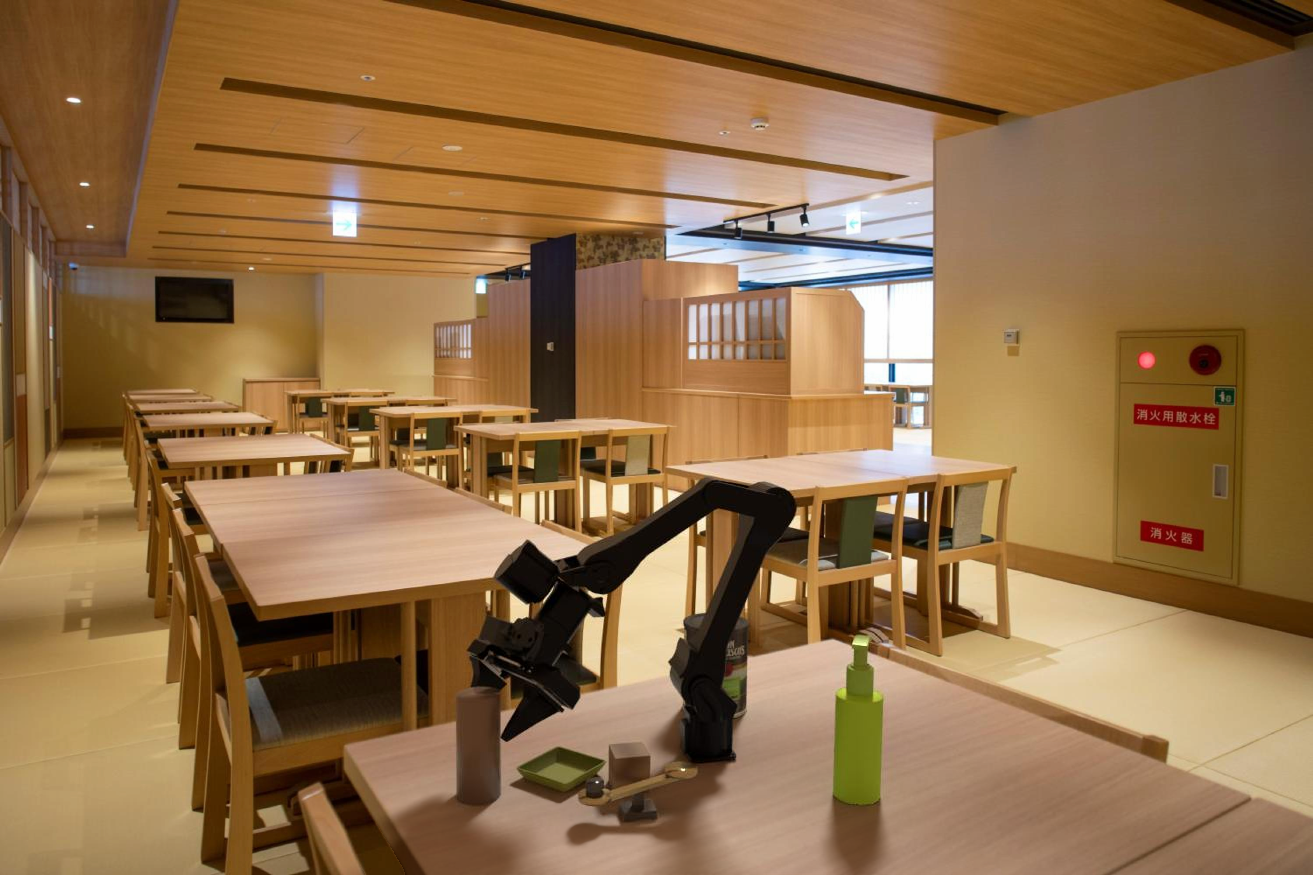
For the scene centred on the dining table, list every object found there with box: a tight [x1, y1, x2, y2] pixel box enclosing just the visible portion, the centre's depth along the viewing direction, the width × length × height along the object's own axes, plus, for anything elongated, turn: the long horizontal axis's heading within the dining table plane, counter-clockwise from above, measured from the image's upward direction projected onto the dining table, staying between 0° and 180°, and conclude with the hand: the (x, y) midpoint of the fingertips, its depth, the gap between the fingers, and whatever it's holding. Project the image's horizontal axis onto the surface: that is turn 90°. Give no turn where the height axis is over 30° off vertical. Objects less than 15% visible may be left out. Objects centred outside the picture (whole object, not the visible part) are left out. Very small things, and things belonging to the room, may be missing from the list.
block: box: [608, 741, 651, 795], centre depth 122 cm, size 4×4×5 cm
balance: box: [577, 760, 698, 823], centre depth 115 cm, size 15×4×5 cm, turn 104°
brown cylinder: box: [455, 687, 502, 806], centre depth 119 cm, size 6×6×13 cm
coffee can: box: [681, 612, 750, 719], centre depth 149 cm, size 10×10×14 cm
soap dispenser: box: [832, 634, 884, 806], centre depth 120 cm, size 6×7×20 cm
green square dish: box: [515, 745, 607, 793], centre depth 125 cm, size 9×9×2 cm
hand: (483, 728), depth 119 cm, fingers open, 9 cm apart
